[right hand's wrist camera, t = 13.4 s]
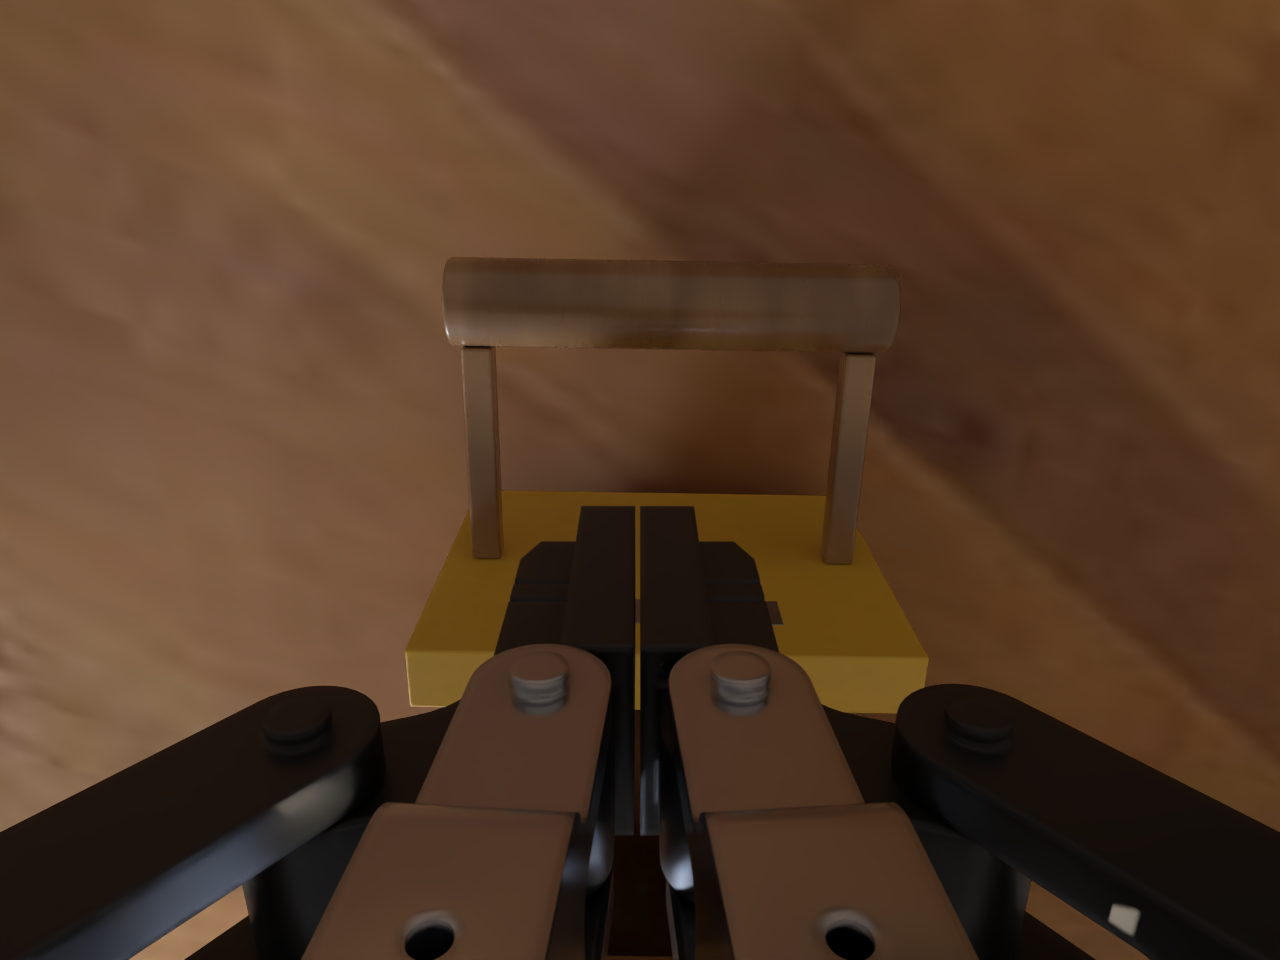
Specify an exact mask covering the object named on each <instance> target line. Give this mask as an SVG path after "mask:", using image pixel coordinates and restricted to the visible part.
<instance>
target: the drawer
mask: <svg viewBox="0 0 1280 960" xmlns="http://www.w3.org/2000/svg"><path fill="white" fill-rule="evenodd" d="M900 307H901V292H900V283H899V278H898V274H897V271H896V269H895V268H894V267H893V266H891V265H870V264H814V263H758V262H701V261H645V260H589V259H533V258H477V257H451V258H449V259H448V260H447V262H446V265H445V268H444V272H443V279H442V316H443V324H444V329H445V333H446V336H447V339H448V341H449V343H450V344H452V345H454V346H463V347H462V349H461V363H462V380H463V398H464V415H465V433H466V450H467V468H468V485H469V503H470V508H469V510H468V513H467V515H466V517H465V519H464V522H463V524H462V526H461V528H460V530H459V533H458V535H457V537H456V539H455V541H454V544H453V546H452V548H451V550H450V552H449V555H448V557H447V559H446V561H445V564H444V566H443V568H442V570H441V572H440V575H439V577H438V579H437V581H436V583H435V586H434V588H433V590H432V592H431V595H430V597H429V599H428V601H427V603H426V606H425V608H424V610H423V612H422V614H421V617H420V619H419V621H418V623H417V626H416V628H415V630H414V632H413V634H412V637H411V639H410V641H409V643H408V645H407V648H406V650H405V658H406V668H407V679H408V690H409V701H410V705H411V706H416V707H446V706H448V705H450V704H452V703H454V702H457V701H458V700H460V699H461V698H462V695H463V693H464V691H465V688H466V686H467V684H468V682H469V679H470V678H471V676H472V674H473V673H474V671H475V670H476V669H477V668H478V667H479V666H480V665H481V664H483V663H484V662H485V661H486V660H488V659H490V658H491V657H493V656H494V653H495V649H496V645H497V642H498V638H499V635H500V631H501V627H502V624H503V620H504V617H505V613H506V609H507V606H508V602H510V595H511V592H512V588H513V584H515V577H516V574H517V570H518V566H519V563H520V559H521V558H522V557H524V556H525V555H526V554H527V553H528V552H529V551H531V550H532V549H533V548H534V547H535V546H536V545H538V544H539V543H540V542H541V541H576V537H577V530H578V524H579V517H580V511H581V506H635V593H636V646H635V765H634V835H614V906H613V914H612V922H611V930H610V938H609V946H608V953H607V955H609V956H673V953H672V946H671V938H670V930H669V922H668V914H667V906H666V877H665V875H664V873H663V870H662V868H661V863H660V847H659V836H640V506H694V510H695V517H696V523H697V530H698V537H699V541H734V542H735V543H736V544H737V545H739V546H740V547H741V548H742V549H743V550H744V551H746V552H747V553H748V554H749V555H750V556H751V557H753V558H754V559H755V563H756V567H757V570H758V574H759V578H760V584H761V585H762V589H763V593H764V597H765V602H766V604H767V608H768V612H769V615H770V619H771V623H772V626H773V630H774V634H775V638H776V641H777V645H778V649H779V653H781V654H783V655H785V656H787V657H789V658H790V659H792V660H794V661H795V662H796V663H797V664H799V665H800V666H801V667H802V668H803V669H804V670H805V671H806V673H807V674H808V676H809V678H810V679H811V682H812V684H813V686H814V688H815V691H816V693H817V695H818V698H819V700H820V702H821V704H823V705H825V706H827V707H829V708H832V709H835V710H838V711H841V712H844V713H896V714H897V711H898V708H899V705H900V704H901V702H902V701H903V700H904V699H905V698H906V697H907V696H908V695H910V694H911V693H913V692H915V691H917V690H919V689H921V688H924V687H925V681H926V675H927V668H928V662H929V658H928V656H927V654H926V652H925V650H924V648H923V647H922V645H921V643H920V641H919V639H918V638H917V636H916V634H915V632H914V630H913V628H912V627H911V625H910V623H909V621H908V619H907V617H906V616H905V614H904V612H903V610H902V608H901V606H900V605H899V603H898V601H897V599H896V597H895V596H894V594H893V592H892V590H891V588H890V586H889V585H888V583H887V581H886V579H885V577H884V575H883V574H882V572H881V570H880V568H879V566H878V564H877V563H876V561H875V559H874V557H873V555H872V554H871V552H870V550H869V548H868V546H867V544H866V543H865V541H864V539H863V537H862V535H861V533H860V532H859V530H858V528H857V518H858V510H859V501H860V493H861V484H862V475H863V467H864V458H865V450H866V441H867V433H868V424H869V415H870V407H871V398H872V390H873V381H874V373H875V364H876V356H875V355H874V354H873V353H885V352H887V351H888V350H889V349H890V348H891V346H892V344H893V342H894V339H895V337H896V333H897V329H898V324H899V318H900ZM495 346H497V347H555V348H613V349H672V350H730V351H788V352H841V354H840V363H839V373H838V383H837V393H836V403H835V413H834V422H833V432H832V442H831V452H830V462H829V472H828V481H827V491H826V496H813V495H751V494H689V493H627V492H565V491H503V490H501V467H500V443H499V420H498V396H497V373H496V350H495Z"/></svg>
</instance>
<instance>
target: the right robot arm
mask: <svg viewBox="0 0 1280 960" xmlns="http://www.w3.org/2000/svg"><path fill="white" fill-rule="evenodd" d="M635 646H636V593H635V506H581V511H580V517H579V524H578V530H577V537H576V541H541V542H540V543H539V544H538V545H536V546H535V547H534V548H533V549H532V550H531V551H529V552H528V553H527V554H526V555H525V556H524V557H522V558H521V559H520V563H519V566H518V570H517V574H516V577H515V584H513V588H512V592H511V595H510V602H508V606H507V609H506V613H505V617H504V620H503V624H502V627H501V631H500V635H499V638H498V642H497V645H496V649H495V653H494V656H493V657H491V658H490V659H488V660H486V661H485V662H484V663H483V664H481V665H480V666H479V667H478V668H477V669H476V670H475V671H474V673H473V674H472V676H471V678H470V679H469V682H468V684H467V686H466V688H465V691H464V693H463V695H462V698H461V699H460V700H458V701H457V702H454V703H452V704H450V705H448V706H446V707H443V708H440V709H437V710H435V711H432V712H428V713H424V714H420V715H415V716H411V717H406V718H401V719H396V720H391V721H386V722H381V723H380V715H379V711H378V709H377V706H376V705H375V704H374V702H373V701H372V700H371V699H370V698H368V697H367V696H366V695H364V694H362V693H360V692H358V691H356V690H352V689H349V688H344V687H337V686H311V687H304V688H298V689H293V690H289V691H285V692H282V693H279V694H276V695H273V696H270V697H268V698H266V699H263V700H261V701H259V702H257V703H255V704H253V705H251V706H249V707H247V708H245V709H243V710H241V711H239V712H237V713H235V714H233V715H231V716H229V717H227V718H225V719H223V720H221V721H219V722H217V723H215V724H213V725H211V726H209V727H207V728H205V729H203V730H201V731H199V732H197V733H195V734H193V735H192V736H190V737H188V738H186V739H184V740H182V741H180V742H178V743H176V744H174V745H172V746H170V747H168V748H166V749H164V750H162V751H160V752H158V753H156V754H154V755H152V756H150V757H148V758H146V759H144V760H142V761H140V762H138V763H136V764H134V765H132V766H130V767H128V768H126V769H124V770H122V771H120V772H118V773H116V774H114V775H113V776H111V777H109V778H107V779H105V780H103V781H101V782H99V783H97V784H95V785H93V786H91V787H89V788H87V789H85V790H83V791H81V792H79V793H77V794H75V795H73V796H71V797H69V798H67V799H65V800H63V801H61V802H59V803H57V804H55V805H53V806H51V807H49V808H47V809H45V810H43V811H41V812H39V813H37V814H36V815H34V816H32V817H30V818H28V819H26V820H24V821H22V822H20V823H18V824H16V825H14V826H12V827H10V828H8V829H6V830H4V831H2V832H0V960H129V959H130V958H131V957H133V956H134V955H136V954H137V953H139V952H140V951H142V950H143V949H145V948H146V947H148V946H149V945H151V944H152V943H154V942H155V941H157V940H158V939H160V938H161V937H163V936H164V935H166V934H167V933H169V932H170V931H172V930H173V929H175V928H176V927H178V926H180V925H181V924H183V923H184V922H186V921H187V920H189V919H190V918H192V917H193V916H195V915H196V914H198V913H199V912H201V911H202V910H204V909H205V908H207V907H208V906H210V905H211V904H213V903H214V902H216V901H217V900H219V899H221V898H222V897H224V896H225V895H227V894H228V893H230V892H231V891H233V890H234V889H236V888H237V887H239V886H240V885H242V886H243V890H244V895H245V900H246V904H247V909H248V914H249V916H247V917H246V918H244V919H243V920H241V921H240V922H238V923H237V924H235V925H234V926H233V927H231V928H230V929H228V930H227V931H225V932H224V933H222V934H221V935H220V936H218V937H217V938H215V939H214V940H212V941H211V942H209V943H208V944H206V945H205V946H204V947H202V948H201V949H199V950H198V951H196V952H195V953H193V954H192V955H191V956H189V957H188V958H186V959H185V960H607V953H608V946H609V938H610V930H611V922H612V914H613V906H614V835H634V765H635ZM640 836H659V847H660V863H661V868H662V870H663V873H664V875H665V877H666V906H667V914H668V922H669V930H670V938H671V946H672V953H673V960H1095V959H1094V958H1092V957H1091V956H1089V955H1088V954H1087V953H1085V952H1084V951H1082V950H1081V949H1079V948H1078V947H1076V946H1075V945H1073V944H1072V943H1071V942H1069V941H1068V940H1066V939H1065V938H1063V937H1062V936H1060V935H1059V934H1058V933H1056V932H1055V931H1053V930H1052V929H1050V928H1049V927H1047V926H1046V925H1044V924H1043V923H1042V922H1040V921H1039V920H1037V919H1036V918H1034V917H1033V916H1031V915H1030V914H1029V913H1027V912H1026V911H1025V909H1026V904H1027V899H1028V894H1029V890H1030V885H1031V880H1032V881H1034V882H1035V883H1037V884H1038V885H1040V886H1041V887H1043V888H1044V889H1046V890H1047V891H1049V892H1050V893H1052V894H1053V895H1055V896H1056V897H1058V898H1059V899H1061V900H1062V901H1064V902H1066V903H1067V904H1069V905H1070V906H1072V907H1073V908H1075V909H1076V910H1078V911H1079V912H1081V913H1082V914H1084V915H1085V916H1087V917H1088V918H1090V919H1091V920H1093V921H1094V922H1096V923H1097V924H1099V925H1100V926H1102V927H1103V928H1105V929H1107V930H1108V931H1110V932H1111V933H1113V934H1114V935H1116V936H1117V937H1119V938H1120V939H1122V940H1123V941H1125V942H1126V943H1128V944H1129V945H1131V946H1132V947H1134V948H1135V949H1137V950H1138V951H1140V952H1141V953H1142V954H1144V955H1145V956H1147V957H1148V958H1149V959H1150V960H1280V832H1278V831H1276V830H1274V829H1272V828H1270V827H1268V826H1266V825H1264V824H1262V823H1260V822H1258V821H1256V820H1254V819H1252V818H1250V817H1248V816H1246V815H1244V814H1242V813H1241V812H1239V811H1237V810H1235V809H1233V808H1231V807H1229V806H1227V805H1225V804H1223V803H1221V802H1219V801H1217V800H1215V799H1213V798H1211V797H1209V796H1207V795H1205V794H1203V793H1201V792H1199V791H1197V790H1195V789H1193V788H1191V787H1189V786H1187V785H1185V784H1183V783H1181V782H1179V781H1177V780H1175V779H1173V778H1171V777H1169V776H1167V775H1165V774H1163V773H1162V772H1160V771H1158V770H1156V769H1154V768H1152V767H1150V766H1148V765H1146V764H1144V763H1142V762H1140V761H1138V760H1136V759H1134V758H1132V757H1130V756H1128V755H1126V754H1124V753H1122V752H1120V751H1118V750H1116V749H1114V748H1112V747H1110V746H1108V745H1106V744H1104V743H1102V742H1100V741H1098V740H1096V739H1094V738H1092V737H1090V736H1088V735H1086V734H1085V733H1083V732H1081V731H1079V730H1077V729H1075V728H1073V727H1071V726H1069V725H1067V724H1065V723H1063V722H1061V721H1059V720H1057V719H1055V718H1053V717H1051V716H1049V715H1047V714H1045V713H1043V712H1041V711H1039V710H1037V709H1035V708H1033V707H1031V706H1029V705H1027V704H1025V703H1023V702H1021V701H1019V700H1017V699H1015V698H1013V697H1010V696H1008V695H1006V694H1003V693H1000V692H997V691H994V690H991V689H987V688H983V687H978V686H972V685H963V684H940V685H933V686H928V687H925V688H921V689H919V690H917V691H915V692H913V693H911V694H910V695H908V696H907V697H906V698H905V699H904V700H903V701H902V702H901V704H900V705H899V708H898V711H897V717H896V724H895V723H890V722H885V721H881V720H876V719H871V718H866V717H861V716H856V715H852V714H848V713H844V712H841V711H838V710H835V709H832V708H829V707H827V706H825V705H823V704H821V702H820V700H819V698H818V695H817V693H816V691H815V688H814V686H813V684H812V682H811V679H810V678H809V676H808V674H807V673H806V671H805V670H804V669H803V668H802V667H801V666H800V665H799V664H797V663H796V662H795V661H794V660H792V659H790V658H789V657H787V656H785V655H783V654H781V653H779V649H778V645H777V641H776V638H775V634H774V630H773V626H772V623H771V619H770V615H769V612H768V608H767V604H766V602H765V597H764V593H763V589H762V585H761V584H760V578H759V574H758V570H757V567H756V563H755V559H754V558H753V557H751V556H750V555H749V554H748V553H747V552H746V551H744V550H743V549H742V548H741V547H740V546H739V545H737V544H736V543H735V542H734V541H699V537H698V530H697V523H696V517H695V510H694V506H640Z"/></svg>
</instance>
